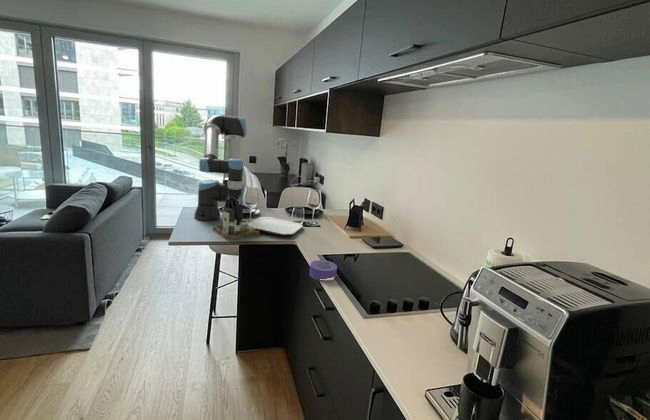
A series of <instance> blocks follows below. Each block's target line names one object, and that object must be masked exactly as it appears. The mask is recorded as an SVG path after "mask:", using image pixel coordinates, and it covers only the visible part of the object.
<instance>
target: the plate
mask: <svg viewBox="0 0 650 420" xmlns="http://www.w3.org/2000/svg"><path fill="white" fill-rule="evenodd" d="M246 223H247V222H246ZM247 224H248V226H252V227H254V228H255V229H256V230H258V231H260V232H264V233H268V234H271V235H278V236H283V237H284V236H293V235H294V234H296V233H298V232H299V231H300V230H301V229H303V228H304V226H303V225H302V224H301V223H300V222H296V221H291V220H286V219H281V218H276V217H273V216H272V217H271V216H260V217H257V218H256V219H254V220H251V221H249V222H248V223H247Z"/></svg>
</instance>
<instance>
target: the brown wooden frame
mask: <svg viewBox="0 0 650 420" xmlns="http://www.w3.org/2000/svg"><path fill="white" fill-rule="evenodd" d="M212 231H214V232H215V233H217V234H218V235H219V236H221V237H222V238H223V239H225V240H226V241H231V240H239V239H246V238H247V239H248V238H252V237H253V238H254V237H260V233H261V231H258V230H256V229H255V232H248V233H245V232H241V233H240V234H232V235H228V234H226V233H225V232H223V224H217V225H216V224H215V225H212Z"/></svg>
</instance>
